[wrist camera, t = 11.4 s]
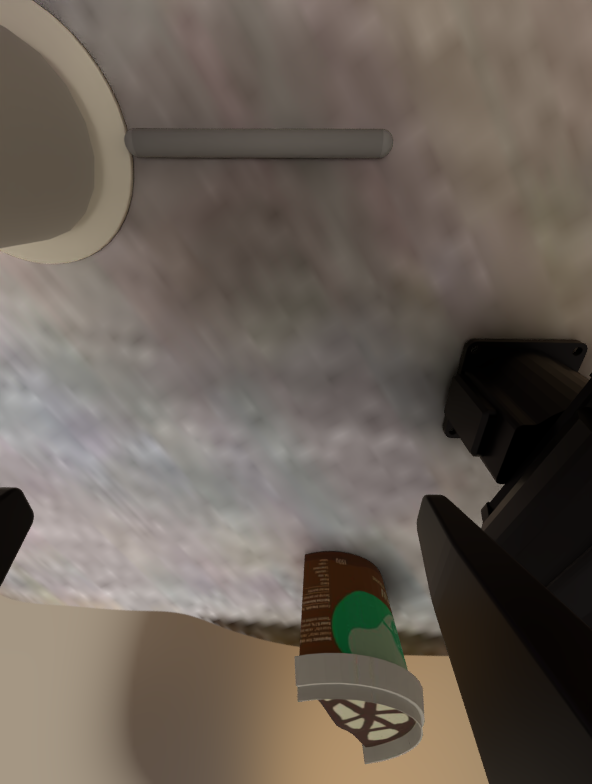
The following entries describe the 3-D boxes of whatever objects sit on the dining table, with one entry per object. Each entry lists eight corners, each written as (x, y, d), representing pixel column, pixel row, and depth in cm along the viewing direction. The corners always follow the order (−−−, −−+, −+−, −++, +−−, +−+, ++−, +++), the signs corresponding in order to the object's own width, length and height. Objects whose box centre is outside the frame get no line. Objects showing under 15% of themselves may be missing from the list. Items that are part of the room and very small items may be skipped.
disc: (99, -21, 13) (93, -27, 13) (153, 263, 18) (150, 265, 17) (-165, -20, 13) (-177, -25, 13) (-39, 261, 18) (-46, 263, 18)
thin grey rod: (391, 131, 15) (397, 127, 14) (388, 159, 15) (393, 157, 14) (127, 130, 15) (117, 126, 14) (133, 158, 16) (122, 156, 15)
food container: (413, 605, 32) (453, 756, 24) (351, 619, 34) (367, 766, 25) (368, 523, 27) (398, 679, 18) (297, 544, 28) (293, 698, 20)
